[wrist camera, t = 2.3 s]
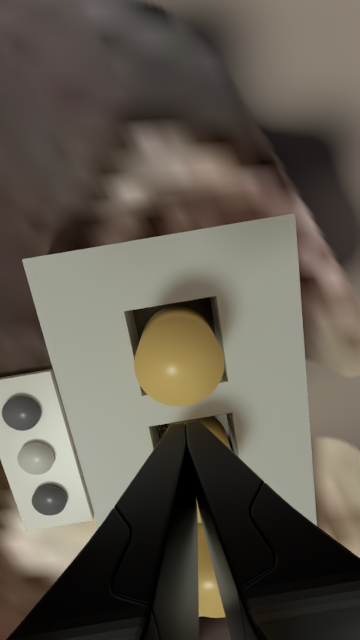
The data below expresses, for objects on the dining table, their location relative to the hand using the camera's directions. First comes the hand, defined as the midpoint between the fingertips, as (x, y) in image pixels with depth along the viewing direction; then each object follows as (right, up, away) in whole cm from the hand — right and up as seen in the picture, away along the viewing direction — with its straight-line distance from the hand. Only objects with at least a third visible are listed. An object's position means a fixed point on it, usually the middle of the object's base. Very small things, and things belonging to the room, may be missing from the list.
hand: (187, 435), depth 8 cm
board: (+1, -4, +12) cm, 13 cm away
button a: (0, +2, +9) cm, 9 cm away
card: (-10, -6, +12) cm, 17 cm away
